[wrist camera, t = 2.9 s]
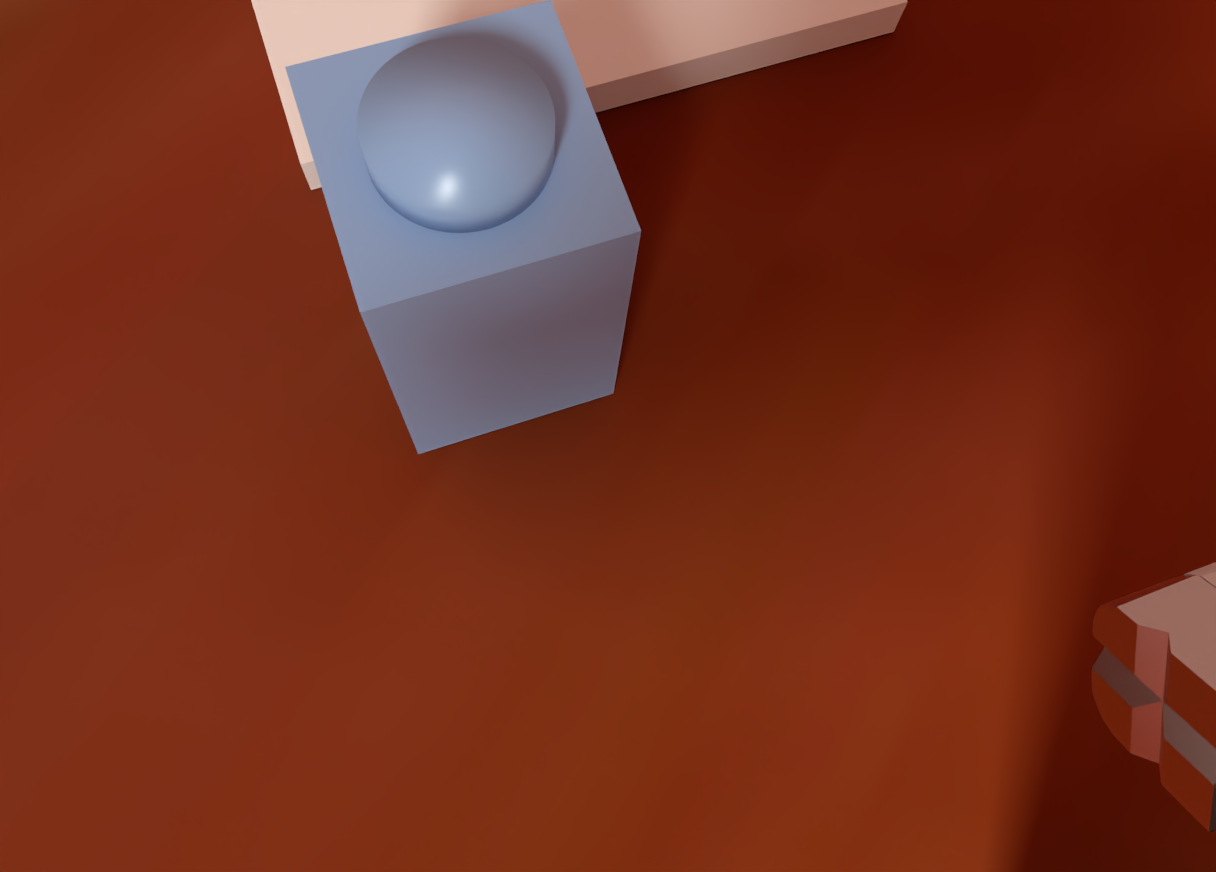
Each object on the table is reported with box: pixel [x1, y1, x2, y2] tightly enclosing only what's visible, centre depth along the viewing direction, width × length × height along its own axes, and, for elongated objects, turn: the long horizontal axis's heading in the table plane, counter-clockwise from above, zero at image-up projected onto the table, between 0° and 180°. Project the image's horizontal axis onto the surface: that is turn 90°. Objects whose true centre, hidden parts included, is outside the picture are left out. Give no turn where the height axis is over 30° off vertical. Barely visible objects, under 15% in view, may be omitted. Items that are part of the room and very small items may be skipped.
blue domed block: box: [285, 0, 641, 454], centre depth 22 cm, size 5×5×9 cm
